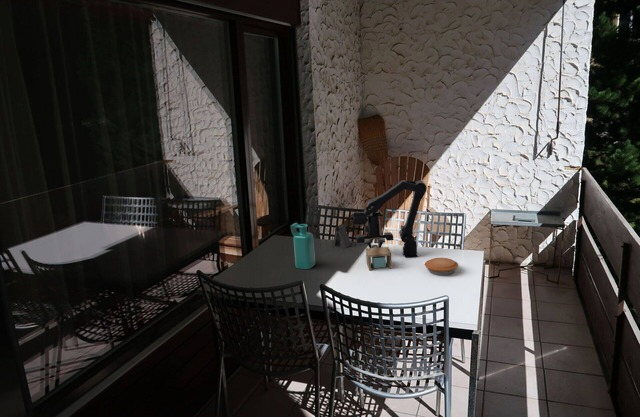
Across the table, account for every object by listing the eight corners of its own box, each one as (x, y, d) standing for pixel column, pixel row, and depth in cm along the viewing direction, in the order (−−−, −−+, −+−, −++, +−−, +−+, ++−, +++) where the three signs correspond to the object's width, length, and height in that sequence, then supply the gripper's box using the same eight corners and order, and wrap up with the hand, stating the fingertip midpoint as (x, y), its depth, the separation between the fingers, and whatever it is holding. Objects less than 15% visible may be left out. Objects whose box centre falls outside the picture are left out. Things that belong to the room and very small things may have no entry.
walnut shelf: (388, 261, 261) (388, 246, 259) (391, 269, 251) (391, 253, 249) (366, 263, 260) (366, 248, 258) (369, 270, 251) (368, 255, 249)
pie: (434, 279, 235) (434, 269, 234) (419, 268, 250) (418, 258, 248) (464, 274, 239) (464, 263, 238) (447, 263, 253) (447, 253, 252)
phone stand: (351, 245, 290) (350, 224, 287) (345, 248, 285) (344, 227, 283) (337, 243, 295) (336, 223, 292) (331, 246, 291) (330, 225, 288)
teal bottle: (316, 264, 265) (313, 222, 259) (309, 269, 257) (306, 227, 252) (299, 262, 269) (296, 221, 263) (292, 268, 261) (288, 226, 256)
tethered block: (380, 255, 271) (380, 244, 269) (385, 266, 254) (385, 255, 252) (369, 255, 270) (368, 245, 269) (373, 267, 253) (373, 256, 252)
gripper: (389, 218, 273) (390, 247, 277) (354, 221, 272) (355, 249, 276) (393, 224, 262) (394, 253, 266) (356, 227, 262) (357, 256, 265)
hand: (375, 253), depth 269 cm, fingers closed on tethered block, 3 cm apart
